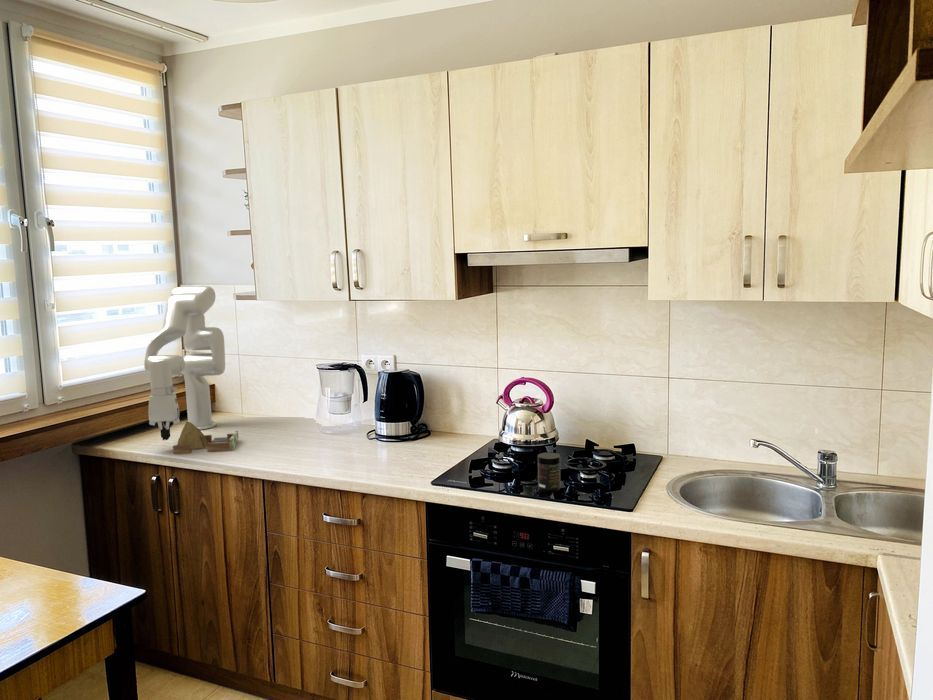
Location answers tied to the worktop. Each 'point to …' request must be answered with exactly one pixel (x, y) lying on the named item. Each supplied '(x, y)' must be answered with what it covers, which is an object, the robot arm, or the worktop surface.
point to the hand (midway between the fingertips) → (165, 439)
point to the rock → (192, 437)
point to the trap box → (212, 444)
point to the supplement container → (549, 472)
